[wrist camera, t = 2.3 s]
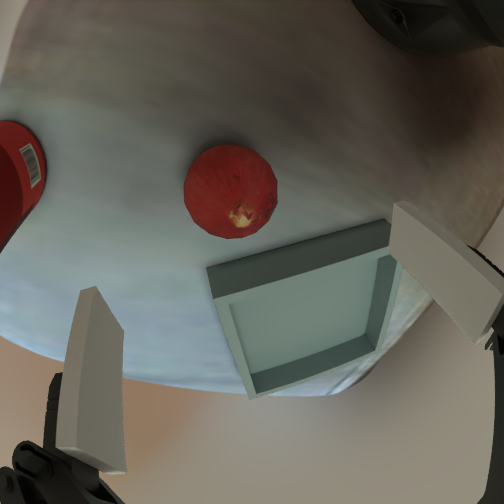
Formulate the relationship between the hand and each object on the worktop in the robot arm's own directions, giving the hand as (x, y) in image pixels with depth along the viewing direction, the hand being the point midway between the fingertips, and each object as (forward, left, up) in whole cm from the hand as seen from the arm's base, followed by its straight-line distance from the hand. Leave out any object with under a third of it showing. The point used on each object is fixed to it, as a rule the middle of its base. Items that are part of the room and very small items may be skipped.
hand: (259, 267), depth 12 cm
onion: (0, 0, -12) cm, 12 cm away
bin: (-6, +17, -12) cm, 21 cm away
